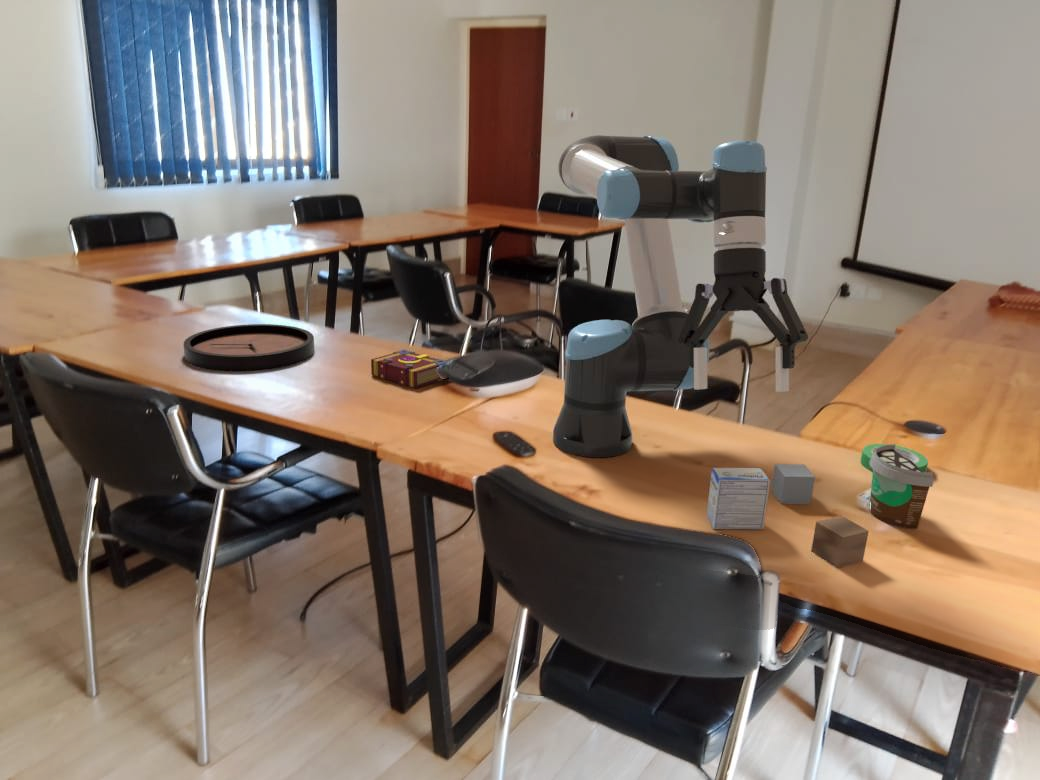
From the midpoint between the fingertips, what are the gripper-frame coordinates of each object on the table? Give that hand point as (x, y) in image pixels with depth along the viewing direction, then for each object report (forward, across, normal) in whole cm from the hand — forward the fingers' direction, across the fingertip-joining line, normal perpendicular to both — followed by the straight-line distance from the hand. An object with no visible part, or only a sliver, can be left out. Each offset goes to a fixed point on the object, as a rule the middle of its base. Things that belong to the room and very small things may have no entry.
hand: (739, 390), depth 122 cm
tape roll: (+17, +7, +43) cm, 47 cm away
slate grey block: (+19, 0, +17) cm, 25 cm away
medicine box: (+21, -2, +2) cm, 21 cm away
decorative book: (0, -91, +8) cm, 91 cm away
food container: (+21, +13, +22) cm, 34 cm away
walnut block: (+24, +13, +4) cm, 28 cm away
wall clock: (-6, -131, -11) cm, 132 cm away
